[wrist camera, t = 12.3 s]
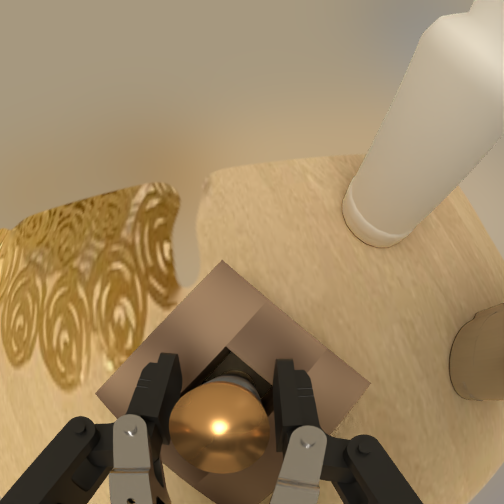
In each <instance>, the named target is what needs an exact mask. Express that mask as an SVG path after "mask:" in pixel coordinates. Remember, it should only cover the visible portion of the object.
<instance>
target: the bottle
mask: <svg viewBox="0 0 504 504" xmlns="http://www.w3.org/2000/svg"><path fill="white" fill-rule="evenodd" d="M503 134H504V0H474V2H473V4H472V6H471V9H470V11H469V12H466V13H458V14H452V15H445V16H441V17H440V18H439V19H437V20H436V21H435V22H434V23H433V24H432V25H431V26H430V27H429V28H428V29H427V30H426V31H425V32H424V33H423V34H422V36H421V38H420V40H419V43H418V45H417V48H416V50H415V52H414V55H413V57H412V59H411V62H410V64H409V66H408V68H407V71H406V73H405V76H404V78H403V80H402V82H401V84H400V86H399V89H398V91H397V93H396V95H395V97H394V99H393V102H392V104H391V106H390V108H389V110H388V112H387V114H386V116H385V118H384V120H383V123H382V124H381V127H380V128H379V130H378V133H377V135H376V137H375V139H374V141H373V143H372V145H371V147H370V149H369V150H368V152H367V154H366V156H365V158H364V160H363V162H362V164H361V166H360V168H359V170H358V172H357V174H356V175H355V176H354V177H353V179H352V181H351V183H350V185H349V187H348V190H347V192H346V194H345V197H344V199H343V202H342V213H343V216H344V219H345V221H346V224H347V226H348V227H349V228H350V230H351V231H352V232H353V234H354V235H355V236H356V237H358V238H359V239H360V240H362V241H363V242H364V243H366V244H369V245H372V246H375V247H390V246H393V245H395V244H397V243H399V242H400V241H401V240H402V239H404V238H405V237H407V236H408V235H409V234H410V233H411V232H412V231H413V229H414V228H415V227H416V226H417V225H418V224H419V223H420V222H421V221H422V220H424V219H425V218H426V217H427V216H428V215H429V214H430V213H431V212H432V211H433V210H434V209H435V208H436V207H437V206H438V205H439V204H440V203H441V202H442V201H443V200H444V199H445V198H446V197H447V196H448V195H449V194H450V193H451V192H452V191H453V190H454V189H455V188H456V187H457V186H458V185H459V184H460V183H461V181H462V180H464V178H465V177H466V176H467V175H468V174H469V173H470V172H471V171H472V170H473V169H474V168H475V167H476V166H477V164H478V163H479V162H480V161H481V160H482V159H483V158H484V157H485V155H486V154H487V153H488V152H489V151H490V150H491V149H492V147H493V146H494V145H495V144H496V143H497V141H498V140H499V139H500V138H501V137H502V136H503Z"/></svg>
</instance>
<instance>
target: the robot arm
mask: <svg viewBox="0 0 504 504" xmlns="http://www.w3.org/2000/svg"><path fill="white" fill-rule="evenodd" d="M450 376H451V380H452V384H453V386H454V388H455V390H456V392H457V393H458V394H459V395H460V396H461V397H463V398H464V399H468V400H479V401H483V400H493V401H499V400H504V303H502V304H499V305H497V306H494V307H491V308H489V309H486V310H483V311H480V312H477V313H476V315H475V318H474V319H473V320H472V321H470V322H468V323H466V324H465V325H464V326H463V327H462V328H461V330H460V331H459V333H458V334H457V336H456V338H455V341H454V343H453V347H452V350H451V356H450ZM136 386H137V387H136V388H135V390H134V393H133V396H132V399H131V401H130V404H129V407H128V410H127V412H126V414H125V415H123V416H121V417H119V418H118V419H117V420H116V421H115V422H114V423H109V424H94V423H93V422H92V421H91V420H90V419H89V418H87V417H83V416H79V417H75V418H73V419H71V420H70V421H69V422H68V423H67V424H66V425H65V426H64V427H63V429H62V430H61V431H60V432H59V433H58V434H57V435H56V436H55V438H54V439H53V440H52V441H51V442H50V443H49V444H48V446H47V447H46V448H45V449H44V450H43V451H42V452H41V454H40V455H39V456H38V457H37V458H36V459H35V460H34V462H33V463H32V464H31V465H30V466H29V467H28V469H27V470H26V471H25V472H24V473H23V474H22V476H21V477H20V478H19V479H18V480H17V481H16V483H15V484H14V485H13V486H12V487H11V489H10V490H9V491H8V492H7V493H6V494H5V496H4V497H3V498H2V499H1V500H0V504H87V503H88V502H89V500H90V499H91V498H92V496H93V495H94V494H95V492H96V491H97V489H98V488H99V487H100V485H101V484H102V483H103V481H104V480H105V478H106V477H107V476H108V474H109V488H110V501H111V504H171V501H170V498H169V495H168V492H167V489H166V483H165V478H164V472H163V465H162V459H161V454H160V451H161V447H162V444H164V445H169V444H170V439H171V437H170V433H169V419H170V415H171V412H172V410H173V408H174V406H175V405H176V403H177V402H178V401H179V398H180V394H181V390H182V372H181V367H180V361H179V356H178V354H174V353H164V352H161V354H160V356H159V359H158V361H157V363H153V362H149V363H148V364H147V365H146V366H145V367H144V368H143V369H142V372H141V375H140V377H139V380H138V383H137V385H136ZM273 405H274V420H275V436H276V452H283V463H282V466H281V469H280V473H279V476H278V479H277V482H276V485H275V488H274V491H273V494H272V497H271V500H270V503H269V504H317V501H318V496H319V490H320V487H319V480H326V481H331V482H332V484H333V485H334V487H335V489H336V491H337V492H338V494H339V496H340V498H341V499H342V501H343V503H344V504H423V503H422V501H421V500H420V499H419V497H418V496H417V494H416V493H415V492H414V490H413V489H412V487H411V486H410V485H409V483H408V482H407V481H406V479H405V478H404V476H403V475H402V474H401V472H400V471H399V469H398V468H397V467H396V465H395V464H394V462H393V461H392V460H391V458H390V457H389V455H388V454H387V453H386V451H385V450H384V448H383V447H382V446H381V444H380V443H379V442H378V440H377V439H375V438H374V437H372V436H369V435H358V436H356V437H354V438H352V439H351V440H346V439H340V438H335V437H332V436H330V435H328V434H326V433H325V432H324V431H323V430H322V428H321V426H320V424H319V419H318V413H317V408H316V403H315V398H314V393H313V389H312V383H311V378H310V377H309V375H308V374H307V373H306V371H305V370H295V369H294V362H293V359H276V361H275V368H274V376H273ZM113 467H114V468H113ZM112 469H113V470H112Z"/></svg>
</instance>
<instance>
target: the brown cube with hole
mask: <svg viewBox="0 0 504 504" xmlns="http://www.w3.org/2000/svg"><path fill="white" fill-rule="evenodd" d="M231 351H232V352H233V353H234V354H235V355H237V356H238V357H239V358H240V359H241V360H242V361H244V362H245V363H246V364H247V365H248V366H249V367H251V368H252V369H253V370H254V371H255V372H257V373H258V374H259V375H260V376H261V377H263V378H264V379H265V380H266V381H267V382H269V383H270V384H271V385H272V387H271V388H270V390H269V391H268V392H267V393H266V394H265V395H264V396H263V397H262V398H261V399H260V400H261V402H262V405H263V407H264V410H265V412H266V415H267V417H268V421H269V425H270V438H269V442H268V445H267V448H266V450H265V452H264V453H263V454H262V456H261V457H260V458H259V459H258V460H257V461H256V462H255V463H254V464H252V465H251V466H249V467H248V468H246V469H243V470H241V471H238V472H234V473H227V474H218V473H211V472H207V471H203V470H201V469H198V468H196V467H195V466H193V465H191V464H190V463H188V462H187V461H186V460H185V459H184V458H183V457H182V456H181V455H180V454H179V453H178V452H177V450H176V449H175V447H174V445H173V443H172V440H171V439H170V444H169V445H164V444H162V447H161V451H160V454H161V459H162V462H163V463H164V464H165V465H166V466H167V467H168V468H170V469H171V470H172V471H173V472H174V473H176V474H177V475H178V476H179V477H181V478H182V479H183V480H184V481H186V482H187V483H188V484H190V485H191V486H192V487H194V488H195V489H196V490H198V491H199V492H201V493H202V494H203V495H205V496H206V497H208V498H209V499H211V500H212V501H213V502H215V503H216V504H259V503H260V502H261V501H262V500H264V499H265V498H266V497H267V496H268V495H270V494H271V493H272V492H273V491H274V488H275V485H276V482H277V479H278V476H279V473H280V469H281V466H282V463H283V452H276V436H275V420H274V405H273V376H274V368H275V361H276V359H293V362H294V369H295V370H305V371H306V373H307V374H308V375H309V377H310V378H311V383H312V389H313V393H314V398H315V403H316V408H317V413H318V419H319V424H320V426H321V428H322V430H323V431H324V432H325V433H326V434H328V435H330V434H331V433H332V432H333V431H334V429H335V428H336V427H337V426H338V425H339V423H340V422H341V421H342V420H343V419H344V417H345V416H346V415H347V414H348V413H349V411H350V410H351V409H352V408H353V406H354V405H355V404H356V402H357V401H358V400H359V399H360V397H361V396H362V395H363V393H364V392H365V391H366V389H367V388H368V386H369V385H370V384H371V383H370V382H369V381H368V380H366V379H365V378H364V377H362V376H361V375H360V374H359V373H357V372H356V371H355V370H354V369H352V368H351V367H350V366H349V365H347V364H346V363H345V362H344V361H342V360H341V359H340V358H339V357H337V356H336V355H335V354H334V353H333V352H331V351H330V350H329V349H328V348H326V347H325V346H324V345H323V344H321V343H320V342H319V341H318V340H317V339H315V338H314V337H313V336H312V335H310V334H309V333H308V332H307V331H306V330H304V329H303V328H302V327H301V326H300V325H298V324H297V323H296V322H295V321H294V320H292V319H291V318H290V317H289V316H288V315H286V314H285V313H284V312H283V311H282V310H280V309H279V308H278V307H277V306H276V305H274V304H273V303H272V302H271V301H270V300H268V299H267V298H266V297H265V296H264V295H263V294H261V293H260V292H259V291H258V290H257V289H256V288H254V287H253V286H252V285H251V284H250V283H248V282H247V281H246V280H245V279H244V278H243V277H241V276H240V275H239V274H238V273H237V272H236V271H234V270H233V269H232V268H231V267H230V266H229V265H228V264H226V263H225V262H224V261H223V260H222V261H221V262H220V263H219V264H218V265H217V266H216V267H215V268H214V269H213V270H212V271H211V272H210V273H209V274H208V275H207V276H206V277H205V278H204V279H203V280H202V281H201V282H200V283H199V284H198V285H197V286H196V287H195V288H194V289H193V290H192V291H191V293H190V294H189V295H188V296H187V297H186V298H185V299H184V300H183V301H182V302H181V303H180V304H179V305H178V306H177V307H176V308H175V309H174V310H173V311H172V312H171V313H170V314H169V315H168V316H167V318H166V319H165V320H164V321H163V322H162V323H161V324H160V325H159V326H158V327H157V328H156V329H155V330H154V331H153V332H152V333H151V334H150V335H149V336H148V338H147V339H146V340H145V341H144V342H143V343H142V344H141V345H140V346H139V347H138V348H137V349H136V350H135V351H134V352H133V353H132V355H131V356H130V357H129V358H128V359H127V360H126V361H125V362H124V363H123V364H122V365H121V366H120V367H119V368H118V370H117V371H116V372H115V373H114V374H113V375H112V376H111V377H110V378H109V379H108V380H107V381H106V382H105V384H104V385H103V386H102V387H101V388H100V389H99V390H98V391H97V392H96V393H95V394H96V395H97V396H98V397H99V399H100V400H101V401H102V402H103V403H104V405H105V406H106V407H107V408H108V409H109V410H110V411H111V412H112V414H113V415H114V416H115V417H116V418H117V419H118V418H119V417H121V416H123V415H125V414H126V412H127V410H128V407H129V404H130V401H131V399H132V396H133V393H134V390H135V388H136V387H137V386H136V385H137V383H138V380H139V377H140V375H141V372H142V369H143V368H144V367H145V366H146V365H147V364H148V363H149V362H153V363H157V361H158V359H159V356H160V354H161V352H164V353H174V354H178V356H179V361H180V367H181V372H182V390H181V394H180V398H181V397H182V396H184V395H185V394H186V393H188V392H189V391H191V390H193V389H195V388H197V387H198V386H199V385H200V384H201V383H202V382H203V381H204V380H205V379H206V378H207V377H208V376H209V375H210V374H211V372H212V371H213V370H214V369H215V368H216V367H217V366H218V365H219V364H220V363H221V362H222V361H223V360H224V359H225V358H226V357H227V356H228V354H229V353H230V352H231ZM180 398H179V399H180Z"/></svg>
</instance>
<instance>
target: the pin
mask: <svg viewBox="0 0 504 504" xmlns="http://www.w3.org/2000/svg"><path fill="white" fill-rule="evenodd" d="M169 433H170V437H171V440H172V443H173V445H174V447H175V449H176V450H177V452H178V453H179V454H180V455H181V456H182V457H183V458H184V459H185V460H186V461H187V462H188V463H190V464H191V465H193V466H195V467H196V468H198V469H201V470H203V471H207V472H211V473H218V474H227V473H234V472H238V471H241V470H243V469H246V468H248V467H249V466H251V465H252V464H254V463H255V462H256V461H257V460H258V459H259V458H260V457H261V456H262V454H263V453H264V452H265V450H266V448H267V445H268V442H269V438H270V425H269V421H268V417H267V415H266V412H265V410H264V407H263V405H262V402H261V400H260V397H259V395H258V392H257V389H256V387H255V384H254V382H253V380H252V378H251V377H250V376H249V375H248V374H246V373H244V372H242V371H239V370H231V371H227V372H225V373H223V374H221V375H219V376H217V377H216V378H214V379H212V380H210V381H208V382H206V383H204V384H202V385H201V386H199V387H197V388H195V389H193V390H191V391H189V392H188V393H186V394H185V395H184V396H182V397H181V398H180V399H179V401H178V402H177V403H176V405H175V406H174V408H173V410H172V412H171V415H170V419H169Z"/></svg>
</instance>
